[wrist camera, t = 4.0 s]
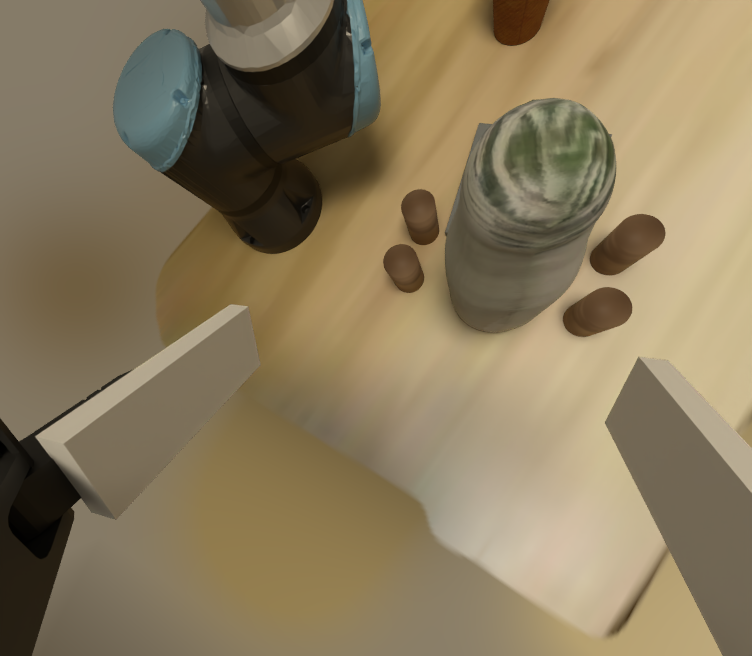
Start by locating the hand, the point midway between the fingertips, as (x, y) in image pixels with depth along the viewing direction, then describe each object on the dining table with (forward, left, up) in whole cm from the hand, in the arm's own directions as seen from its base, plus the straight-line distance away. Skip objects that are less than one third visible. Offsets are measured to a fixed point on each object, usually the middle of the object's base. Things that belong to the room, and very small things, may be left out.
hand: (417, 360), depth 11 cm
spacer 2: (-14, +1, -31) cm, 34 cm away
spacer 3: (-5, +23, -31) cm, 39 cm away
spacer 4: (0, +17, -31) cm, 35 cm away
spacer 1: (-19, +5, -31) cm, 37 cm away
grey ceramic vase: (-7, +9, -31) cm, 33 cm away
